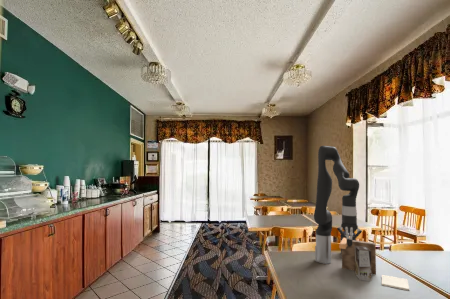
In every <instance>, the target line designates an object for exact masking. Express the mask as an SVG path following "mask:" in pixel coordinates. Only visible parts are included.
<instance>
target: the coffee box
mask: <svg viewBox="0 0 450 299" xmlns="http://www.w3.org/2000/svg"><path fill="white" fill-rule="evenodd" d="M354 273H355V274H354V275H356V277H357V279H358V280H359V281H365V282H367V281H368V282H372V279H373V278H372V274H371V250H370V249H368V248H367V247H366V246H355V271H354Z"/></svg>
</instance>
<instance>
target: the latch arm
mask: <svg viewBox="0 0 450 299" xmlns="http://www.w3.org/2000/svg"><path fill="white" fill-rule="evenodd" d="M349 239H350V236H349ZM338 246H339V249H340V250H341V249H346V247H347V239H346V238H343V239H342V241H341V240H340V243H339V245H338Z"/></svg>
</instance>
